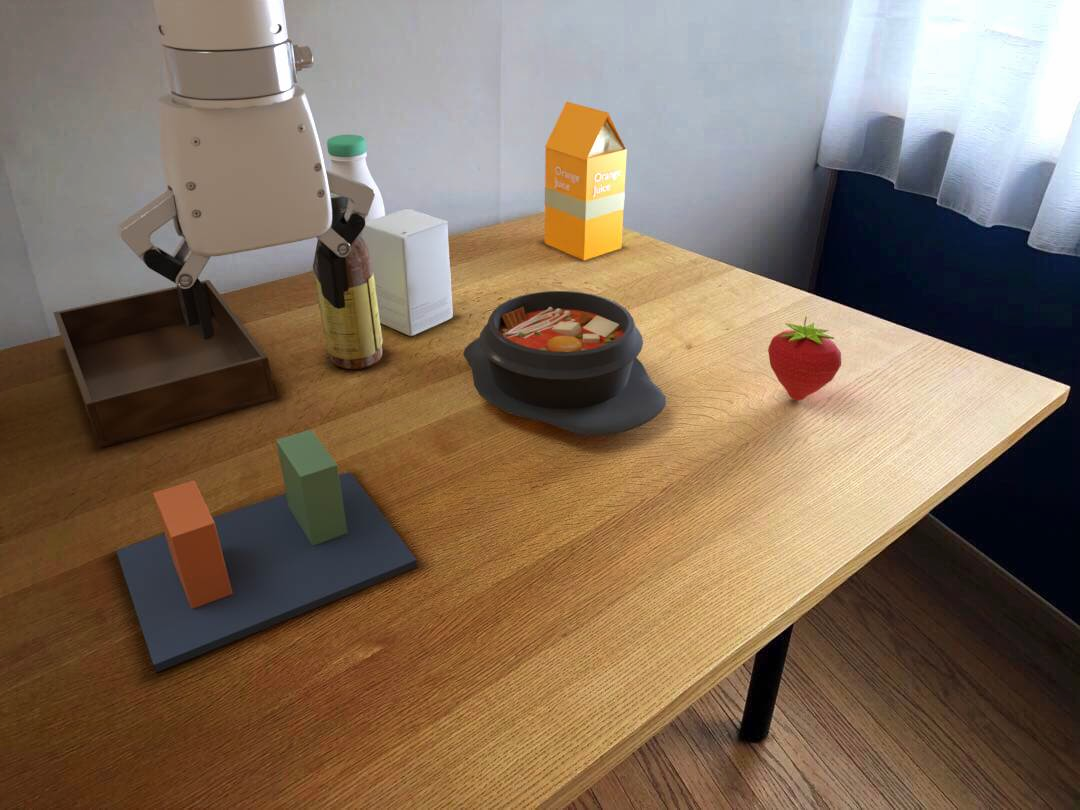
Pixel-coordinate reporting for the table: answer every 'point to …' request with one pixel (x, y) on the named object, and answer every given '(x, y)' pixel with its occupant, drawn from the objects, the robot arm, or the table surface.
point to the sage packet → (312, 486)
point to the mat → (260, 574)
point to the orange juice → (584, 183)
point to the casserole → (565, 363)
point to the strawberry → (803, 359)
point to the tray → (160, 363)
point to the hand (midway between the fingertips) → (271, 316)
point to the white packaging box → (410, 270)
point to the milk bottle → (354, 168)
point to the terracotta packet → (193, 543)
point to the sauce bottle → (352, 306)
